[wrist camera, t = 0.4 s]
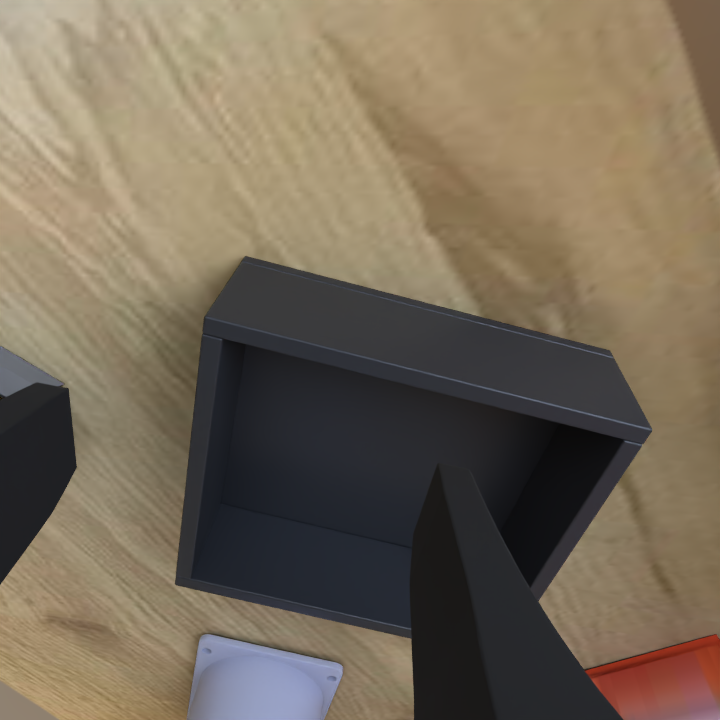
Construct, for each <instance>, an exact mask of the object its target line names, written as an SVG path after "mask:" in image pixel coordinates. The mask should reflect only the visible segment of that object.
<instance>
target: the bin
mask: <svg viewBox="0 0 720 720" xmlns="http://www.w3.org/2000/svg"><path fill="white" fill-rule="evenodd" d="M651 432H652V428H651V426H650V424H649V422H648V421H647V419H646V417H645V415H644V413H643V411H642V409H641V408H640V406H639V404H638V402H637V400H636V398H635V396H634V395H633V393H632V391H631V389H630V387H629V385H628V383H627V382H626V380H625V378H624V376H623V374H622V372H621V370H620V369H619V367H618V365H617V363H616V361H615V359H614V358H613V355H612V353H611V352H610V351H609V350H605V349H602V348H598V347H594V346H590V345H586V344H582V343H578V342H575V341H571V340H567V339H563V338H559V337H555V336H551V335H548V334H544V333H540V332H536V331H532V330H528V329H524V328H521V327H517V326H513V325H509V324H505V323H501V322H497V321H494V320H490V319H486V318H482V317H478V316H474V315H471V314H467V313H463V312H459V311H455V310H451V309H447V308H444V307H440V306H436V305H432V304H428V303H424V302H420V301H417V300H413V299H409V298H405V297H401V296H397V295H393V294H390V293H386V292H382V291H378V290H374V289H370V288H366V287H363V286H359V285H355V284H351V283H347V282H343V281H339V280H336V279H332V278H328V277H324V276H320V275H316V274H313V273H309V272H305V271H301V270H297V269H293V268H289V267H286V266H282V265H278V264H274V263H270V262H266V261H262V260H259V259H255V258H251V257H247V256H245V257H244V258H243V260H242V261H241V263H240V265H239V266H238V268H237V269H236V271H235V272H234V274H233V275H232V277H231V278H230V280H229V281H228V283H227V284H226V285H225V287H224V288H223V290H222V291H221V293H220V294H219V296H218V297H217V299H216V300H215V302H214V303H213V305H212V306H211V308H210V309H209V311H208V312H207V314H206V315H205V317H204V323H203V334H202V340H201V349H200V358H199V367H198V376H197V386H196V395H195V404H194V413H193V422H192V432H191V441H190V450H189V459H188V468H187V478H186V487H185V496H184V505H183V514H182V524H181V533H180V542H179V551H178V560H177V570H176V580H175V585H178V586H182V587H186V588H191V589H195V590H200V591H204V592H208V593H213V594H217V595H222V596H226V597H230V598H235V599H239V600H244V601H248V602H252V603H257V604H261V605H266V606H270V607H274V608H279V609H283V610H288V611H292V612H296V613H301V614H305V615H310V616H314V617H318V618H323V619H327V620H332V621H336V622H340V623H345V624H349V625H354V626H358V627H362V628H367V629H371V630H376V631H380V632H384V633H389V634H393V635H398V636H402V637H406V638H411V613H410V568H411V554H412V542H413V533H414V530H415V527H416V524H417V521H418V518H419V515H420V513H421V510H422V507H423V504H424V501H425V498H426V495H427V492H428V489H429V487H430V484H431V481H432V478H433V475H434V472H435V469H436V466H437V463H442V464H447V465H452V466H457V467H462V468H467V469H469V470H470V472H471V473H472V475H473V477H474V480H475V482H476V484H477V486H478V488H479V491H480V493H481V495H482V497H483V499H484V502H485V504H486V506H487V508H488V510H489V512H490V514H491V516H492V518H493V520H494V522H495V524H496V527H497V529H498V531H499V532H500V534H501V536H502V538H503V540H504V542H505V544H506V546H507V548H508V550H509V551H510V553H511V555H512V557H513V559H514V561H515V563H516V564H517V566H518V568H519V570H520V572H521V573H522V575H523V577H524V579H525V580H526V582H527V584H528V586H529V587H530V589H531V591H532V592H533V594H534V596H535V597H536V599H537V601H539V599H540V598H541V596H542V595H543V593H544V592H545V590H546V589H547V588H548V586H549V585H550V583H551V582H552V580H553V579H554V577H555V576H556V574H557V573H558V571H559V570H560V568H561V567H562V565H563V564H564V562H565V561H566V559H567V558H568V556H569V555H570V553H571V552H572V550H573V549H574V547H575V546H576V544H577V543H578V541H579V540H580V538H581V537H582V535H583V534H584V532H585V531H586V529H587V528H588V526H589V525H590V523H591V522H592V520H593V519H594V517H595V516H596V514H597V513H598V511H599V510H600V508H601V507H602V505H603V504H604V502H605V501H606V499H607V498H608V496H609V495H610V493H611V492H612V490H613V489H614V487H615V486H616V484H617V483H618V481H619V480H620V478H621V477H622V475H623V474H624V472H625V471H626V469H627V468H628V466H629V465H630V463H631V462H632V460H633V459H634V457H635V456H636V454H637V453H638V451H639V450H640V448H641V447H642V444H643V443H644V442H645V441H646V439H647V438H648V436H649V435H650V433H651ZM411 639H412V638H411Z"/></svg>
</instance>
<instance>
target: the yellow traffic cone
mask: <svg viewBox="0 0 720 720" xmlns="http://www.w3.org/2000/svg"><path fill="white" fill-rule="evenodd" d="M36 382H39V383H44V384H49V385H54V386H59V387H60V386H62V385H64V383H62V382H60V381H59V380H57V379H55V378H54V377H52V376H50V375H48V374H47V373H45V372H43V371H42V370H40V369H38V368H37V367H35V366H33V365H32V364H30V363H28V362H26V361H25V360H23V359H21V358H20V357H18V356H16V355H15V354H13V353H11V352H10V351H8V350H6V349H4V348H3V347H1V346H0V396H1V397H3V398H5V397H7V396H9V395H11V394H13V393H15V392H17V391H19V390H21V389H23V388H25V387H27V386H30V385H32V384H34V383H36Z"/></svg>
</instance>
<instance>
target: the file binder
mask: <svg viewBox="0 0 720 720" xmlns="http://www.w3.org/2000/svg"><path fill="white" fill-rule="evenodd" d="M585 672H586V673H587V674H588V676H589V677H590V678H591V680H592V681H593V682H594V684H595V685H596V686H597V688H598V689H599V690H600V692H601V693H602V694H603V695H604V696H605V698H606V699H607V700H608V701H609V703H610V704H611V705H612V706H613V707H614V709H615V710H616V711H617V712H618V714H619V715H620V716H621V717H622V718H623V720H720V640H719V638H718V636H717V635H712V636H709V637H705V638H701V639H698V640H694V641H691V642H687V643H683V644H680V645H676V646H673V647H669V648H665V649H662V650H658V651H654V652H651V653H647V654H644V655H640V656H636V657H633V658H629V659H626V660H622V661H618V662H615V663H611V664H607V665H604V666H600V667H597V668H593V669H589V670H586V671H585Z"/></svg>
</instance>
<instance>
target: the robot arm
mask: <svg viewBox="0 0 720 720" xmlns="http://www.w3.org/2000/svg"><path fill="white" fill-rule="evenodd" d="M76 468H77V466H76V456H75V446H74V437H73V427H72V417H71V408H70V398H69V389H68V388H63V387H59V386H54V385H49V384H44V383H39V382H36V383H34V384H32V385H30V386H27V387H25V388H23V389H21V390H19V391H17V392H15V393H13V394H11V395H9V396H7V397H5V398H3V399H1V400H0V584H1V583H2V581H3V580H4V579H5V577H6V576H7V575H8V573H9V572H10V570H11V569H12V568H13V566H14V565H15V564H16V562H17V561H18V560H19V558H20V557H21V555H22V554H23V553H24V551H25V550H26V549H27V547H28V546H29V544H30V543H31V542H32V540H33V539H34V538H35V536H36V535H37V533H38V532H39V531H40V529H41V528H42V526H43V525H44V524H45V522H46V521H47V519H48V518H49V516H50V515H51V514H52V512H53V510H54V508H55V507H56V505H57V503H58V501H59V500H60V498H61V496H62V494H63V492H64V491H65V489H66V487H67V485H68V483H69V481H70V479H71V477H72V475H73V473H74V471H75V470H76ZM410 613H411V638H412V662H413V686H414V720H623V718H622V717H621V716H620V715H619V714H618V712H617V711H616V710H615V709H614V707H613V706H612V705H611V704H610V703H609V701H608V700H607V699H606V698H605V696H604V695H603V694H602V693H601V692H600V690H599V689H598V688H597V686H596V685H595V684H594V682H593V681H592V680H591V678H590V677H589V676H588V674H587V673H586V672H585V670H584V669H583V668H582V666H581V665H580V664H579V662H578V661H577V659H576V658H575V657H574V655H573V654H572V652H571V651H570V650H569V648H568V647H567V645H566V644H565V642H564V641H563V640H562V638H561V637H560V635H559V634H558V632H557V631H556V629H555V628H554V626H553V624H552V623H551V621H550V620H549V618H548V617H547V615H546V614H545V612H544V610H543V609H542V607H541V605H540V604H539V602H538V601H537V599H536V597H535V596H534V594H533V592H532V591H531V589H530V587H529V586H528V584H527V582H526V580H525V579H524V577H523V575H522V573H521V572H520V570H519V568H518V566H517V564H516V563H515V561H514V559H513V557H512V555H511V553H510V551H509V550H508V548H507V546H506V544H505V542H504V540H503V538H502V536H501V534H500V532H499V531H498V529H497V527H496V524H495V522H494V520H493V518H492V516H491V514H490V512H489V510H488V508H487V506H486V504H485V502H484V499H483V497H482V495H481V493H480V491H479V488H478V486H477V484H476V482H475V480H474V477H473V475H472V473H471V472H470V470H469V469H467V468H462V467H457V466H452V465H447V464H442V463H437V466H436V469H435V472H434V475H433V478H432V481H431V484H430V487H429V489H428V492H427V495H426V498H425V501H424V504H423V507H422V510H421V513H420V515H419V518H418V521H417V524H416V527H415V530H414V533H413V542H412V554H411V568H410ZM342 675H343V667H342V665H341V664H339V663H336V662H332V661H327V660H323V659H318V658H314V657H310V656H305V655H301V654H296V653H292V652H287V651H283V650H278V649H274V648H269V647H265V646H260V645H256V644H251V643H247V642H242V641H238V640H233V639H229V638H224V637H220V636H216V635H211V634H204V635H202V636H201V638H200V641H199V644H198V650H197V657H196V663H195V669H194V676H193V682H192V688H191V695H190V701H189V707H188V714H187V720H324V718H325V716H326V714H327V711H328V709H329V706H330V704H331V702H332V699H333V697H334V694H335V692H336V689H337V687H338V685H339V682H340V680H341V677H342Z"/></svg>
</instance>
